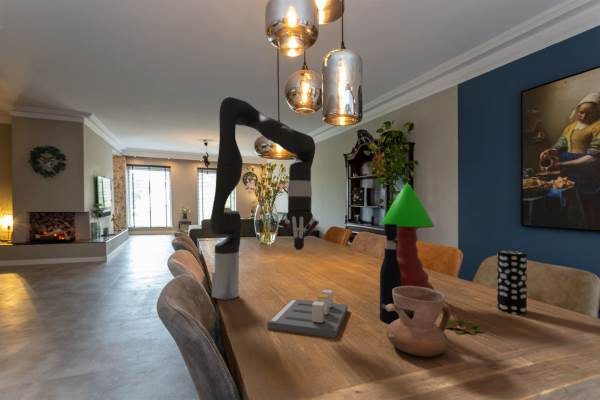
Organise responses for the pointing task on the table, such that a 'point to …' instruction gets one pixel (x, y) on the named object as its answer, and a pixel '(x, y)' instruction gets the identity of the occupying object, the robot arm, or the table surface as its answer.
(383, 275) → the wine bottle
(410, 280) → the table lamp
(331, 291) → the breaker
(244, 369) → the table surface
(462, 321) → the green leafy sprig
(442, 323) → the ceramic jug
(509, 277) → the white-spotted black cylinder
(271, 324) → the breaker panel
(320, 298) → the block
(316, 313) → the block
